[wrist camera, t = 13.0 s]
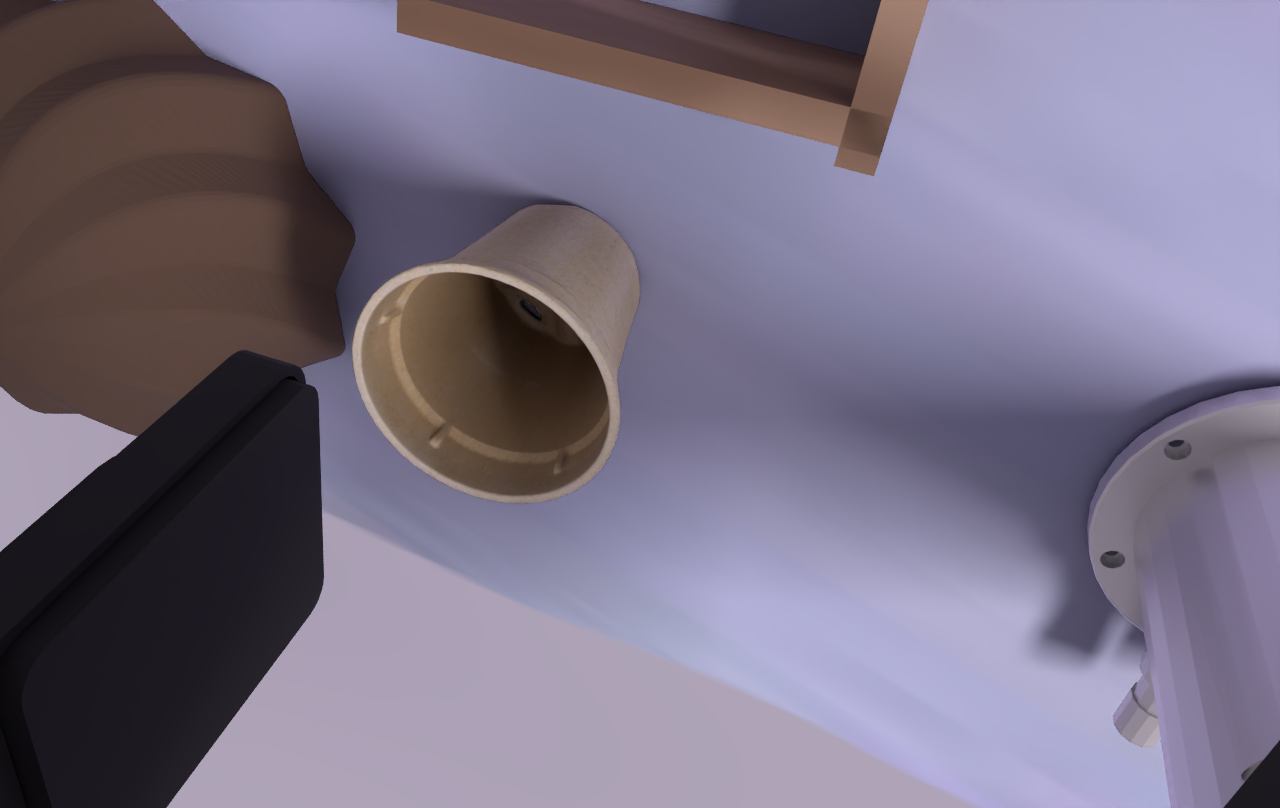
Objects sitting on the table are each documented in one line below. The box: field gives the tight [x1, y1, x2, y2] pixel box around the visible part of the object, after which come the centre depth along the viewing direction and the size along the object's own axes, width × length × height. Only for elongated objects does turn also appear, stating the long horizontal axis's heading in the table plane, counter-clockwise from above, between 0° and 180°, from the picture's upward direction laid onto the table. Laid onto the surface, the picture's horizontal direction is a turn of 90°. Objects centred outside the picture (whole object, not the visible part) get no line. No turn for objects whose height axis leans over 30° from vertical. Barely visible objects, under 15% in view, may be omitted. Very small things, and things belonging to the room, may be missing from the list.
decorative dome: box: [0, 0, 355, 436], centre depth 43 cm, size 19×20×10 cm
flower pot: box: [352, 205, 640, 503], centre depth 39 cm, size 9×9×9 cm
